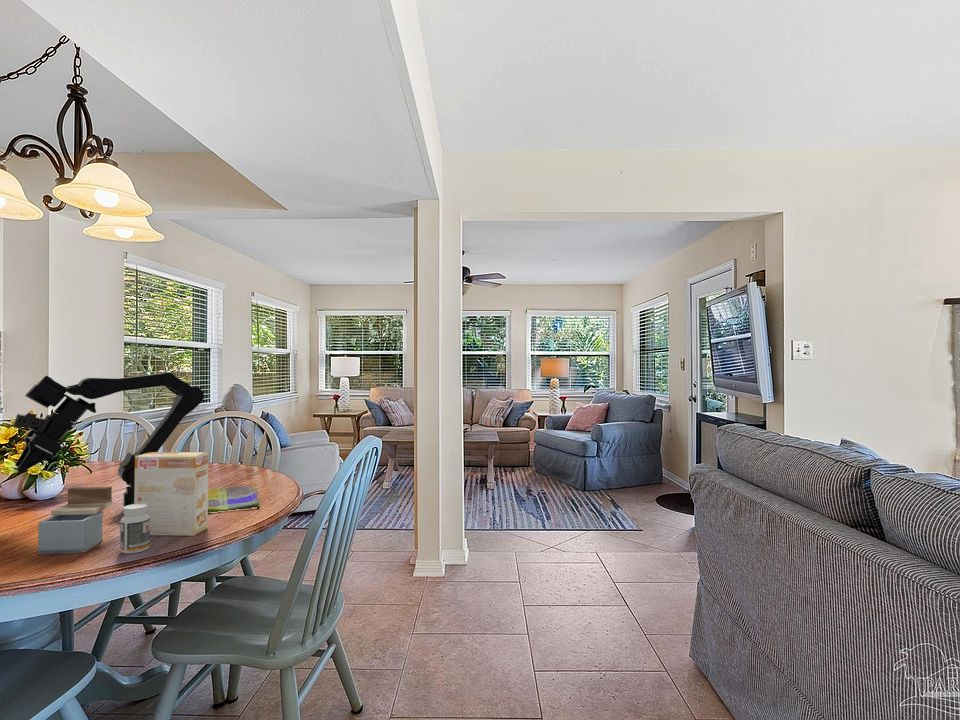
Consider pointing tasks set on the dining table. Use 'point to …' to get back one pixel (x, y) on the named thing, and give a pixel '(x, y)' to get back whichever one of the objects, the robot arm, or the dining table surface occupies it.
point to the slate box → (69, 533)
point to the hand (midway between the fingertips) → (17, 468)
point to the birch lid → (86, 501)
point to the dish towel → (232, 498)
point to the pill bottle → (135, 529)
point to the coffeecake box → (173, 491)
